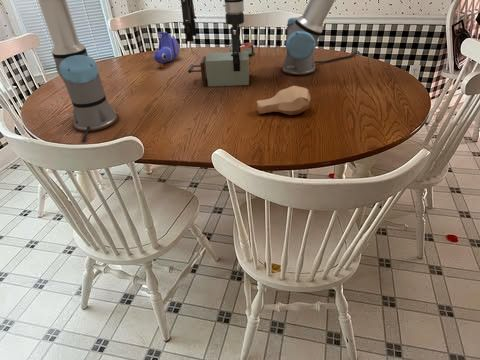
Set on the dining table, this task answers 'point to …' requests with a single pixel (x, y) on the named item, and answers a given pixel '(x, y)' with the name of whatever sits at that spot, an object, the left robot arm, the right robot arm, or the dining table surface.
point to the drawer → (203, 69)
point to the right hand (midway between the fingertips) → (237, 66)
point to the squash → (286, 101)
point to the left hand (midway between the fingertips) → (191, 38)
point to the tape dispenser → (245, 48)
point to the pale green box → (226, 69)
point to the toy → (166, 49)
